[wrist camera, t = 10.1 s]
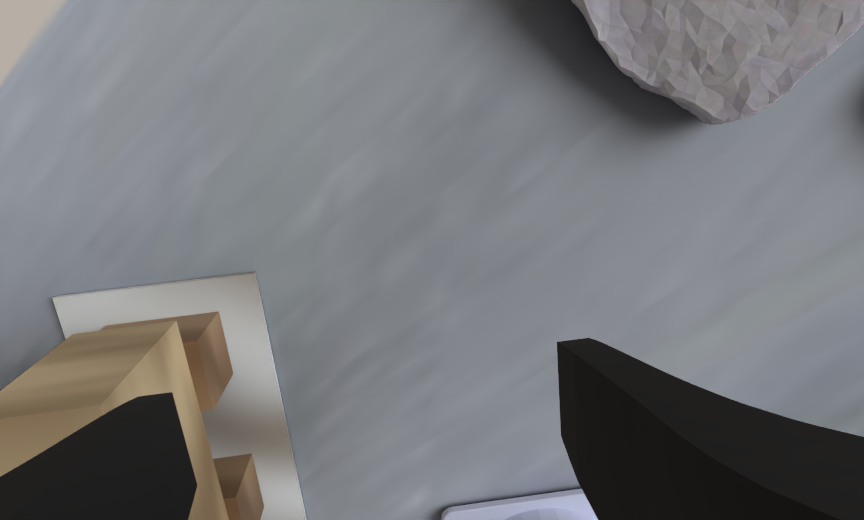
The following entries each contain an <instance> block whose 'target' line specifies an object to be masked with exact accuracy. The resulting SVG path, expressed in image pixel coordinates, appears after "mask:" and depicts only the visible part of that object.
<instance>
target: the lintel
mask: <svg viewBox="0 0 864 520" xmlns="http://www.w3.org/2000/svg"><path fill="white" fill-rule="evenodd" d="M169 392H172V393H173V397H174V401H175V404H176V408H177V412H178V415H179V419H180V423H181V426H182V430H183V434H184V437H185V441H186V445H187V449H188V452H189V456H190V460H191V463H192V467H193V471H194V474H195V478H196V482H197V489H196V493H195V496H194V500H193V504H192V508H191V511H190V515H189V518H188V520H229V518H228V514H227V510H226V506H225V503H224V499H223V495H222V491H221V487H220V484H219V480H218V476H217V472H216V468H215V465H214V461H213V457H212V453H211V450H210V446H209V442H208V438H207V434H206V431H205V427H204V423H203V419H202V415H201V412H200V408H199V404H198V400H197V396H196V393H195V389H194V385H193V381H192V377H191V374H190V370H189V366H188V362H187V358H186V355H185V351H184V347H183V343H182V339H181V336H180V332H179V328H178V324H177V321H170V322H162V323H154V324H146V325H139V326H131V327H123V328H116V329H108V330H100V331H93V332H85V333H77V334H72V335H71V336H70V337H68V338H67V339H66V340H65V341H63V342H62V343H61V344H59V345H58V346H57V347H56V348H54V349H53V350H52V351H51V352H49V353H48V354H47V355H45V356H44V357H43V358H42V359H40V360H39V361H38V362H37V363H35V364H34V365H33V366H32V367H30V368H29V369H28V370H26V371H25V372H24V373H23V374H21V375H20V376H19V377H18V378H16V379H15V380H14V381H12V382H11V383H10V384H9V385H7V386H6V387H5V388H4V389H2V390H1V391H0V476H2V475H4V474H6V473H7V472H9V471H11V470H13V469H14V468H16V467H18V466H19V465H21V464H23V463H25V462H26V461H28V460H30V459H32V458H33V457H35V456H37V455H38V454H40V453H41V452H43V451H45V450H46V449H48V448H50V447H51V446H53V445H54V444H56V443H58V442H59V441H61V440H63V439H64V438H66V437H68V436H69V435H71V434H72V433H74V432H76V431H77V430H79V429H81V428H82V427H84V426H86V425H87V424H89V423H90V422H92V421H94V420H95V419H97V418H99V417H100V416H102V415H104V414H106V413H107V412H109V411H111V410H113V409H114V408H116V407H118V406H120V405H122V404H124V403H126V402H128V401H130V400H132V399H134V398H136V397H139V396H146V395H154V394H161V393H169Z"/></svg>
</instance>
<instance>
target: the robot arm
mask: <svg viewBox="0 0 864 520" xmlns="http://www.w3.org/2000/svg"><path fill="white" fill-rule="evenodd" d="M557 352H558V375H559V397H560V420H561V436H562V439H563V442H564V445H565V448H566V450H567V453H568V456H569V459H570V462H571V464H572V467H573V469H574V472H575V475H576V477H577V480H578V482H579V484H580V486H581V488H582V489H575V490H568V491H560V492H553V493H546V494H539V495H532V496H525V497H518V498H511V499H504V500H496V501H489V502H482V503H475V504H468V505H461V506H454V507H450V508H447V509H446V510H444V511H443V513H442V515H441V520H864V437H861V436H857V435H853V434H849V433H845V432H840V431H836V430H832V429H828V428H824V427H819V426H815V425H811V424H808V423H804V422H800V421H797V420H793V419H790V418H786V417H783V416H780V415H777V414H773V413H770V412H767V411H764V410H761V409H758V408H755V407H751V406H748V405H745V404H742V403H739V402H737V401H734V400H731V399H728V398H726V397H723V396H720V395H718V394H715V393H713V392H710V391H708V390H705V389H703V388H700V387H698V386H695V385H693V384H690V383H688V382H686V381H683V380H681V379H679V378H677V377H674V376H672V375H670V374H668V373H665V372H663V371H661V370H659V369H657V368H654V367H652V366H650V365H648V364H646V363H644V362H642V361H640V360H638V359H635V358H633V357H631V356H629V355H627V354H625V353H623V352H621V351H619V350H617V349H615V348H612V347H610V346H608V345H606V344H604V343H601V342H599V341H596V340H593V339H590V338H585V339H577V340H569V341H562V342H557ZM196 489H197V482H196V478H195V474H194V471H193V467H192V463H191V460H190V456H189V452H188V449H187V445H186V441H185V437H184V434H183V430H182V426H181V423H180V419H179V415H178V412H177V408H176V404H175V401H174V397H173V393H172V392H169V393H161V394H154V395H146V396H139V397H136V398H134V399H132V400H130V401H128V402H126V403H124V404H122V405H120V406H118V407H116V408H114V409H113V410H111V411H109V412H107V413H106V414H104V415H102V416H100V417H99V418H97V419H95V420H94V421H92V422H90V423H89V424H87V425H86V426H84V427H82V428H81V429H79V430H77V431H76V432H74V433H72V434H71V435H69V436H68V437H66V438H64V439H63V440H61V441H59V442H58V443H56V444H54V445H53V446H51V447H50V448H48V449H46V450H45V451H43V452H41V453H40V454H38V455H37V456H35V457H33V458H32V459H30V460H28V461H26V462H25V463H23V464H21V465H19V466H18V467H16V468H14V469H13V470H11V471H9V472H7V473H6V474H4V475H2V476H0V520H188V518H189V515H190V511H191V508H192V504H193V500H194V496H195V493H196Z"/></svg>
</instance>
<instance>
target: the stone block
mask: <svg viewBox="0 0 864 520" xmlns="http://www.w3.org/2000/svg"><path fill="white" fill-rule="evenodd" d="M571 1H572V2H573V3H574V4H575V5H576V6H577V7H578V8H579V10H580V11H581V12H582V13H583V15H584V17H585V19H586V21H587V22H588V24H589V26H590V28H591V31H592V33H593V36H594V37H595V38H596V39H597V41H598V42H599V43H600V44H601V46H602V47H603V48H604V50H605V51H606V52H607V54H608V55H609V57H610V58H611V60H612V61H613V63H614V64H615V65H616V66H617V68H618V69H619V70H620V71H621V72H622V73H624V74H625V75H627V76H629V77H631V78H632V79H633V81H634V82H635V83H637V84H638V85H639V87H640V88H642V89H645V90H648V91H651V92H653V93H656V94H658V95H661V96H664V97H667V98H669V99H672V100H673V101H674V102H675V103H676V104H678V105H679V106H681V107H682V108H684V109H686V110H687V111H689V112H690V113H692V114H694V115H695V116H696V117H697V118H699V119H700V121H701V122H704V123H707V124H710V125H714V124H722V123H727V122H733V121H736V120H739V119H742V118H745V117H748V116H751V115H754V114H756V113H757V112H759V111H761V110H763V109H764V108H766V107H768V106H770V105H772V104H774V103H775V102H776V101H777V100H778V99H779V98H780V97H782V96H783V95H785V94H786V93H787V92H788V91H789V90H790V89H791V88H792V87H793V86H794V85H795V84H796V83H797V82H798V81H799V80H801V79H802V78H803V76H804V75H805V74H807V73H809V72H810V71H811V70H812V69H813V68H814V67H815V66H816V65H819V64H820V62H821V61H823V60H824V59H825V58H827V57H828V56H829V55H830V54H832V53H833V52H834V51H835V50H836V49H837V48H838V47H839V46H841V45H842V44H843V43H844V42H845V41H846V40H847V39H849V38H850V37H851V36H852V35H853V34H854V33H855V32H856V31H857V30H858V29H859V28H860V27H861V26H862V25H863V24H864V0H571Z"/></svg>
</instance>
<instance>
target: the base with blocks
mask: <svg viewBox="0 0 864 520" xmlns="http://www.w3.org/2000/svg"><path fill="white" fill-rule="evenodd" d="M52 299H53V302H54V305H55V308H56V311H57V314H58V317H59V320H60V324H61V327H62V330H63V333H64V336H65V339H67V338H68V337H70V336H71V335H72V334H77V333H85V332H93V331H100V330H108V329H116V328H123V327H131V326H139V325H146V324H154V323H162V322H170V321H177V324H178V328H179V332H180V336H181V339H182V343H183V347H184V351H185V355H186V358H187V362H188V366H189V370H190V374H191V377H192V381H193V385H194V389H195V393H196V396H197V400H198V404H199V408H200V412H201V415H202V419H203V423H204V427H205V431H206V434H207V438H208V442H209V446H210V450H211V453H212V457H213V461H214V465H215V468H216V472H217V476H218V480H219V484H220V487H221V491H222V495H223V499H224V503H225V506H226V510H227V514H228V518H229V520H307V518H306V513H305V509H304V504H303V499H302V494H301V489H300V485H299V480H298V475H297V470H296V465H295V460H294V456H293V451H292V446H291V441H290V436H289V432H288V427H287V422H286V417H285V412H284V407H283V403H282V398H281V393H280V388H279V383H278V379H277V374H276V369H275V364H274V359H273V354H272V350H271V345H270V340H269V335H268V330H267V326H266V321H265V316H264V311H263V306H262V301H261V297H260V292H259V287H258V282H257V277H256V273H255V272H249V273H240V274H232V275H224V276H216V277H208V278H200V279H191V280H183V281H175V282H167V283H159V284H150V285H142V286H134V287H126V288H118V289H110V290H101V291H93V292H85V293H77V294H69V295H60V296H55V297H53V298H52Z"/></svg>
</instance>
